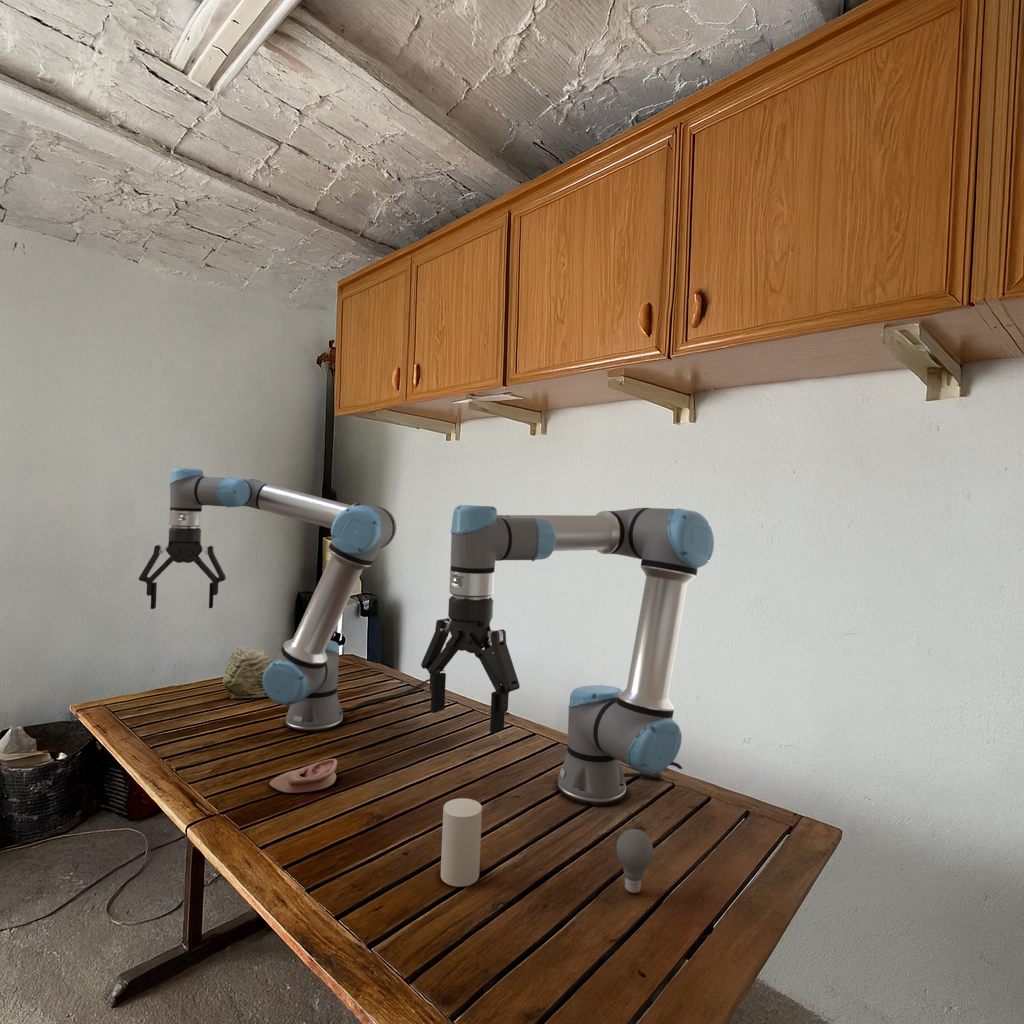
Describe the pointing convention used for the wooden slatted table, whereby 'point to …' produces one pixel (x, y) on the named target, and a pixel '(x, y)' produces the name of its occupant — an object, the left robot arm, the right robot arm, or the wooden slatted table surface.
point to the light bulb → (634, 857)
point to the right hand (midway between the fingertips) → (466, 720)
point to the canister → (461, 842)
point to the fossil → (246, 673)
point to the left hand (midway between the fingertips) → (182, 607)
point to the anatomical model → (307, 778)
